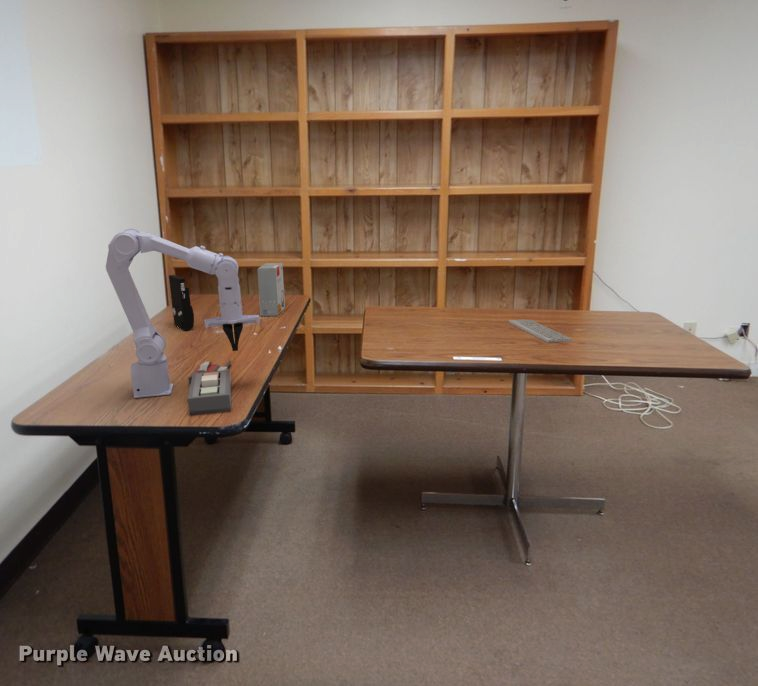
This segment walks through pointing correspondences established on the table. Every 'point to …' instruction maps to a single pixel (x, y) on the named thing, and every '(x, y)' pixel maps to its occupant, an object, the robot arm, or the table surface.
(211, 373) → the terracotta key
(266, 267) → the hard drive box
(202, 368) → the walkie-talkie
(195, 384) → the keypad housing
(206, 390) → the sage key
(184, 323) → the handheld gaming console
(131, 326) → the robot arm
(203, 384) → the offwhite key
